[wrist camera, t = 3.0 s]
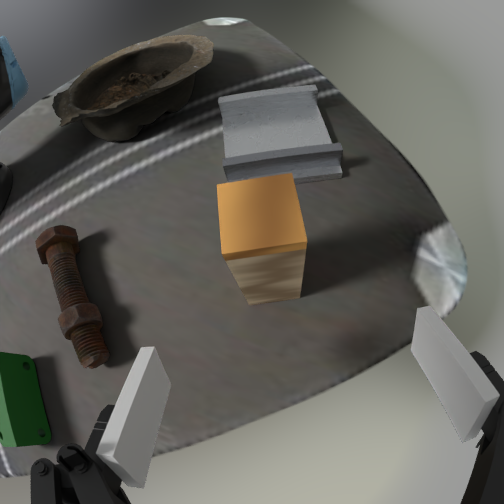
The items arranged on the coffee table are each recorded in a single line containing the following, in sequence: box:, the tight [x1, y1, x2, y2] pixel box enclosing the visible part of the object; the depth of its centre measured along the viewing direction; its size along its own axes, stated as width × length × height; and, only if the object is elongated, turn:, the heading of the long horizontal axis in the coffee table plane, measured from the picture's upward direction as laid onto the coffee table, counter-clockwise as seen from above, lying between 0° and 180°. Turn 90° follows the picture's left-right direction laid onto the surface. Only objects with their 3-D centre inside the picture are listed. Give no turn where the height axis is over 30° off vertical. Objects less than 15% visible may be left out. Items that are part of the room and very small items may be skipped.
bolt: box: [35, 225, 110, 369], centre depth 27 cm, size 6×5×15 cm
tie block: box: [217, 173, 307, 305], centre depth 22 cm, size 4×4×12 cm
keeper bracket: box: [218, 85, 343, 184], centre depth 33 cm, size 12×13×4 cm
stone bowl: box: [52, 35, 214, 142], centre depth 37 cm, size 25×25×9 cm
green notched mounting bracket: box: [0, 352, 51, 447], centre depth 23 cm, size 11×6×8 cm, turn 15°
